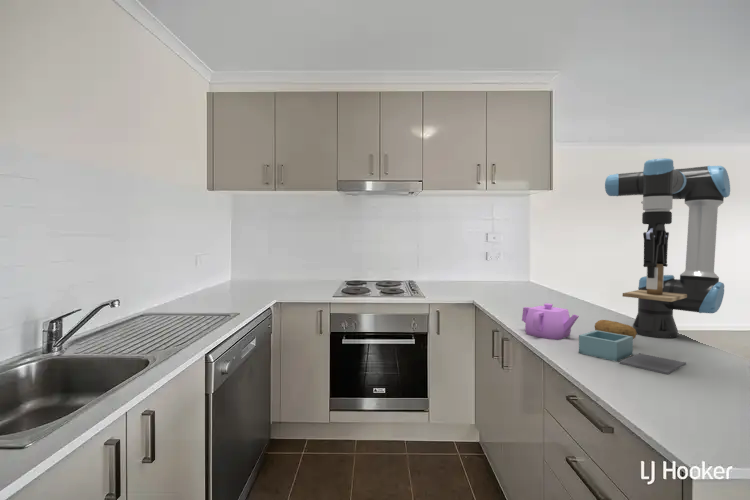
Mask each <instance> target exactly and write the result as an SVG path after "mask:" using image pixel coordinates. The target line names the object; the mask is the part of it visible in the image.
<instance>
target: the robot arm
mask: <svg viewBox="0 0 750 500" xmlns="http://www.w3.org/2000/svg"><path fill="white" fill-rule="evenodd" d="M604 191H605V193H606V195H608V196H609V197H623V196H625V197H627V196H642V200H641V204H642V210H643V212H642V215H641V216H642V217H641V218H642V219H641V220H642V224H643V225H647V226H648V227H647V229H646V230H647V231H646V232H645V231H644V232H643V233H642V234H643V265H642V266H643V268H646V276H642V277H640V278H639V280H638V286H637V287H638V288H637V290H647V289H657V283H658V268H656V266H657V264H663V292H669V293H679V294H687V298H684V299H680V300H676V301H673V302H668V301H659V300H650V299H641V298H637V300H638V301H637V314H636V316H635V319H634V321H633V323H632V327H633V328H634V329H635V330H636V332H637V334H636V335H639V334H640V336H644V335H645V336H644V337H649V338H658V339H659V338H663V339H673V338H677V337H678V336H679V334H678V327H677V324H676V321H675V318H674V311H676V310H677V311H683V312H690V313H691V312H692V313H699V314H715V313H717V312H718V311H719V309H720V307H721V305H722V303H723V299H724V295H725V284H724V282H721V281H719V280H720V277H719V276H718V275H717V274H716V273H715V259H716V244H717V228H718V227H717V224H718V212H719V211H718V210H719V207H720V206H721V205H722V204H723V203H724V199H726V198H728V197H729V196H731V182H730V178H729V173H728V171H727V169H726V167H724V166H722V165H707V166H697V167H685V168H675V166H674V160H673V159H672V158H653V159H648V160H646V161H645V162H644V164H643V169H642V171H638V172H637V171H634V172H626V173H624V172H623V173H614V174H609V175H607V176H606V178H605V183H604ZM673 200H684V204H685V205H686V206H687V207H688V219H687V237H686V239H687V240H686V252H685V253H686V254H685V269H684V271H683V272H682V273H680V274H679V278H678V279H677V278H676V279H675V276H674V275H673V274H665V273H664V272H665V267H668V250H669V249H668V245H669V237H670V232H668V231H666V228H665V227H666V225H671V224H672V222H673V212H672V211H671V210H673Z"/></svg>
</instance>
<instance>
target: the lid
mask: <svg viewBox="0 0 750 500" xmlns="http://www.w3.org/2000/svg"><path fill="white" fill-rule="evenodd" d="M663 267H664V266H663V264H657V266H656V268H658V283H657V289H647V290H638V289H637V290H636V289H635V290H631V291H627V292H622V297H623V298H624V297H626V298H632V299H638V298H641V299H650V300H659V301H668V302H673V301H676V300H680V299H684V298H687V294H679V293H669V292H663Z"/></svg>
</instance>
